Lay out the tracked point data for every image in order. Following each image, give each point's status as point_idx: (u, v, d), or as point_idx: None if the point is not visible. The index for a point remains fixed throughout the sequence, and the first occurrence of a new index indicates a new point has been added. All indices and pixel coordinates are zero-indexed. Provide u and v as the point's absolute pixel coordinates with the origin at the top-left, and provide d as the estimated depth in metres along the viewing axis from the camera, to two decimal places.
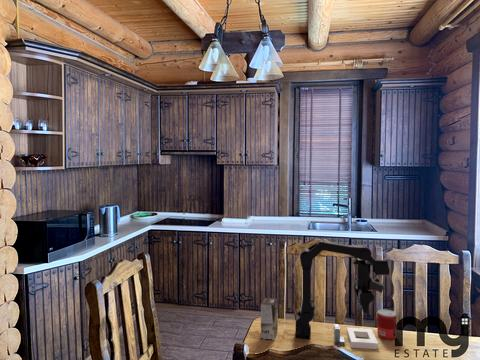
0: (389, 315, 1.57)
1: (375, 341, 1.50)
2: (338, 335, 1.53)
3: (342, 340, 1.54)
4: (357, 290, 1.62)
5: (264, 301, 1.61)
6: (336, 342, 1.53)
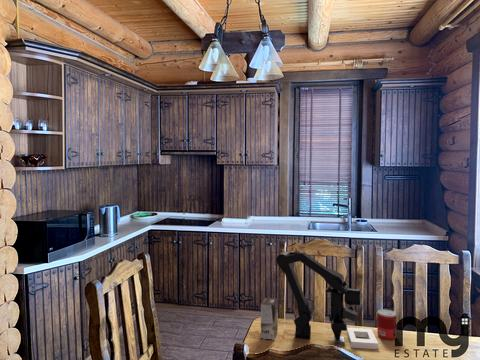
0: (389, 315, 1.57)
1: (375, 341, 1.50)
2: None
3: (342, 340, 1.54)
4: (332, 319, 1.58)
5: (264, 301, 1.61)
6: (336, 342, 1.53)
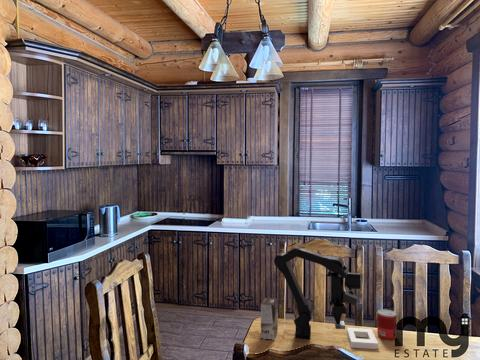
0: (389, 315, 1.57)
1: (375, 341, 1.50)
2: None
3: (342, 324, 1.53)
4: (332, 304, 1.58)
5: (264, 301, 1.61)
6: (336, 326, 1.53)
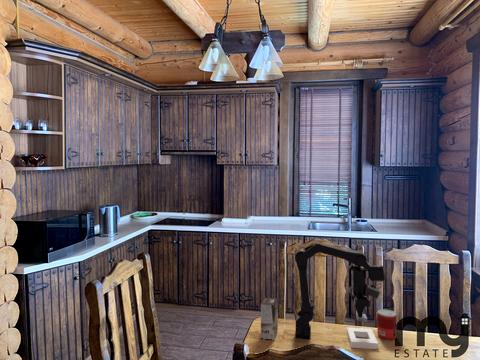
0: (389, 315, 1.57)
1: (375, 341, 1.50)
2: None
3: (364, 317, 1.55)
4: (354, 297, 1.60)
5: (264, 301, 1.61)
6: (359, 319, 1.54)
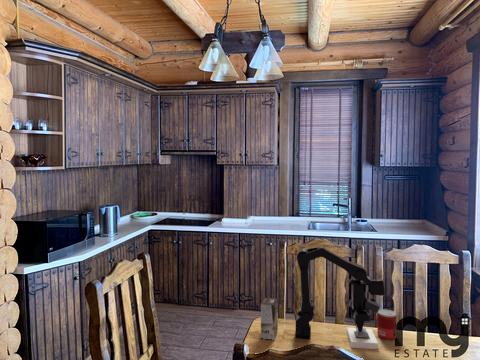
0: (389, 315, 1.57)
1: (375, 341, 1.50)
2: None
3: (364, 331, 1.55)
4: (354, 311, 1.60)
5: (264, 301, 1.61)
6: (358, 333, 1.54)
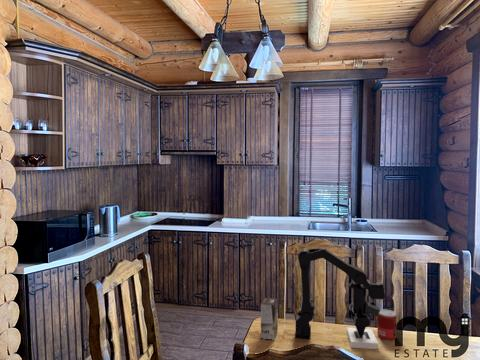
0: (389, 315, 1.57)
1: (375, 341, 1.50)
2: None
3: (364, 338, 1.55)
4: (353, 313, 1.62)
5: (264, 301, 1.61)
6: None
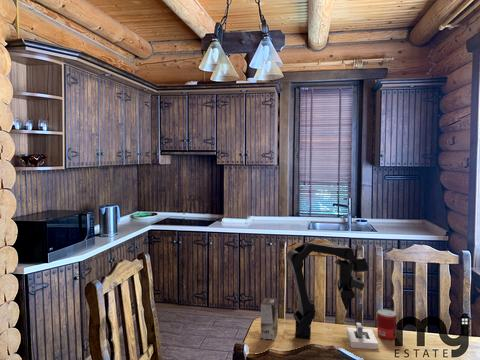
0: (389, 315, 1.57)
1: (375, 341, 1.50)
2: (361, 333, 1.54)
3: (364, 338, 1.55)
4: (340, 288, 1.71)
5: (264, 301, 1.61)
6: None
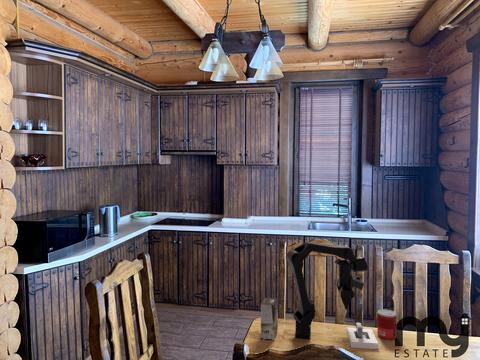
0: (389, 315, 1.57)
1: (375, 341, 1.50)
2: (361, 333, 1.54)
3: (364, 338, 1.55)
4: (340, 288, 1.71)
5: (264, 301, 1.61)
6: None
